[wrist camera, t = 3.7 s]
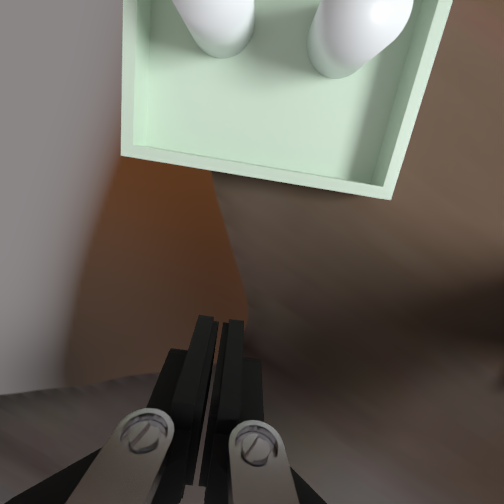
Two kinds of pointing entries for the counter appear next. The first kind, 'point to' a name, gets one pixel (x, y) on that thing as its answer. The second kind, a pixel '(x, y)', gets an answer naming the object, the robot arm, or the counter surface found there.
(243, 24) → the white egg
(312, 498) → the robot arm
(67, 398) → the counter surface
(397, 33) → the grey rounded piece
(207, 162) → the tray
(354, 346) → the counter surface
